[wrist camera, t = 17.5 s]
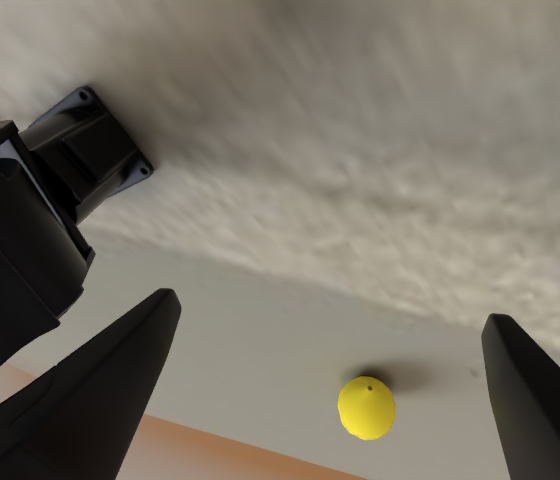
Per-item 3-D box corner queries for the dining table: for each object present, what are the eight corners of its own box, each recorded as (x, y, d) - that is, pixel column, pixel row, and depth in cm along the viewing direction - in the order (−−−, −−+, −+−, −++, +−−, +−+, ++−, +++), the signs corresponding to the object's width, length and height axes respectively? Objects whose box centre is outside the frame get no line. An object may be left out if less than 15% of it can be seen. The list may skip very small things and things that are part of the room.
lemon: (388, 402, 37) (390, 457, 33) (337, 392, 38) (333, 445, 34) (400, 366, 33) (404, 425, 29) (342, 356, 34) (338, 412, 30)
